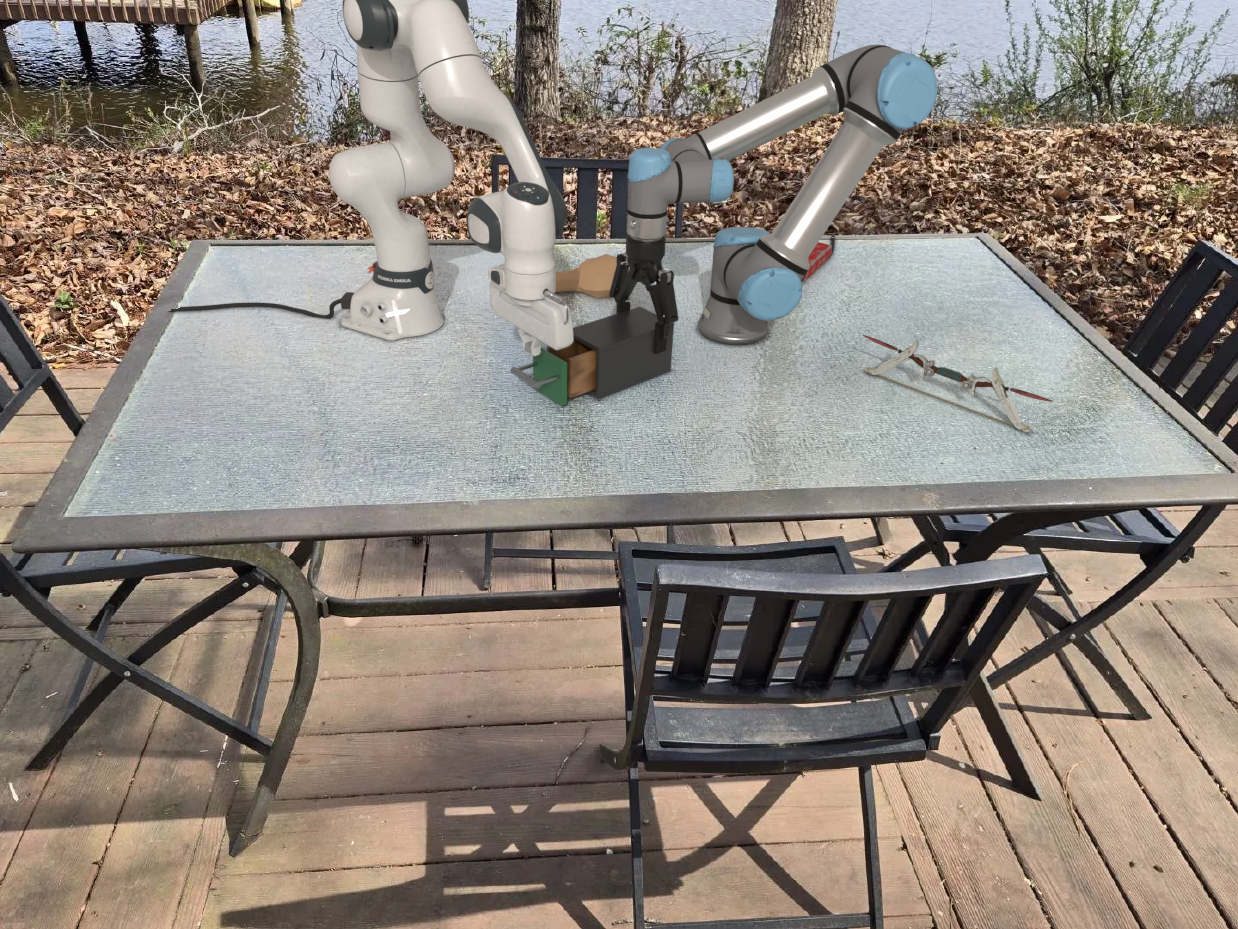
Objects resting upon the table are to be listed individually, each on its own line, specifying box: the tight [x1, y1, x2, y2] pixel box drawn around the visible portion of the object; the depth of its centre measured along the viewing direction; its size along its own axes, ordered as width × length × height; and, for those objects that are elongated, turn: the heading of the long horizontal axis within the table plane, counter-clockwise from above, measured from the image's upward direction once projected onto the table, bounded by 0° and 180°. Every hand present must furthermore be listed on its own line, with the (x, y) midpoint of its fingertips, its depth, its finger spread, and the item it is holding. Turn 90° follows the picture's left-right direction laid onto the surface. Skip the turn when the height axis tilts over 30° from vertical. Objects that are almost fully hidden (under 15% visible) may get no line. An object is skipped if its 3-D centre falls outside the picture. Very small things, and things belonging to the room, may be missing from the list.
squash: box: [555, 253, 630, 299], centre depth 210 cm, size 11×20×9 cm, turn 90°
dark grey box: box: [573, 306, 675, 400], centre depth 175 cm, size 19×10×11 cm, turn 131°
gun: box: [801, 241, 832, 284], centre depth 227 cm, size 4×31×19 cm
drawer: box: [510, 339, 597, 407], centre depth 168 cm, size 24×9×9 cm, turn 131°
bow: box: [862, 334, 1055, 433], centre depth 169 cm, size 39×2×10 cm, turn 47°
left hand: (532, 352), depth 159 cm, fingers closed
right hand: (641, 342), depth 178 cm, fingers closed on dark grey box, 10 cm apart
